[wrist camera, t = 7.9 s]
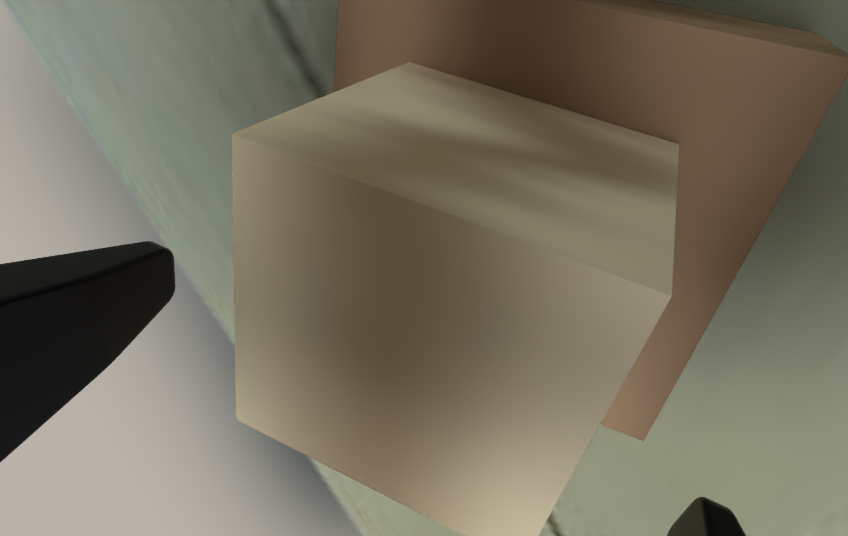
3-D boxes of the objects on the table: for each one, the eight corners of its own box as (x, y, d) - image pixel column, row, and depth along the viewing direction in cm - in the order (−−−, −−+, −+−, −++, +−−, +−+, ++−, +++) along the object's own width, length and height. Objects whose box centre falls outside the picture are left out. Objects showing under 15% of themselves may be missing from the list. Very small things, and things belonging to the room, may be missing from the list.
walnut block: (812, 30, 12) (855, 59, 9) (650, 353, 18) (643, 440, 15) (413, -48, 15) (340, -47, 12) (378, 257, 20) (322, 314, 17)
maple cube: (679, 144, 11) (671, 296, 6) (577, 359, 14) (521, 565, 10) (409, 61, 12) (231, 134, 8) (374, 275, 16) (236, 418, 11)
